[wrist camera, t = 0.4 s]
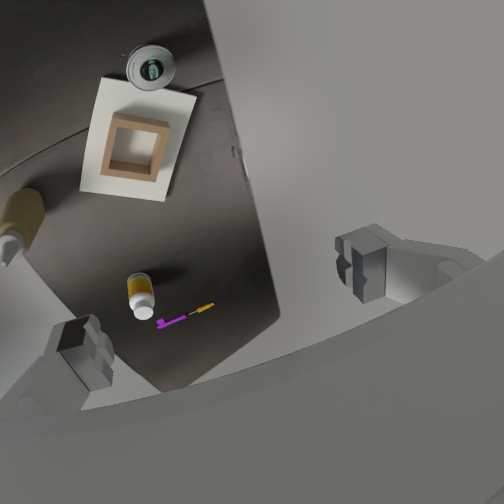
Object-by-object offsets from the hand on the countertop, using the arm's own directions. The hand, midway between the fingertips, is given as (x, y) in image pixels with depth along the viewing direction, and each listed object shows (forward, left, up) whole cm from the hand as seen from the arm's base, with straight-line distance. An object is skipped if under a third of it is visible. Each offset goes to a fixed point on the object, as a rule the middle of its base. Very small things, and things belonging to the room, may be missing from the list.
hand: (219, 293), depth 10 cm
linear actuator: (+51, +21, -48) cm, 73 cm away
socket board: (+10, +1, -47) cm, 48 cm away
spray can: (-4, -1, -47) cm, 47 cm away
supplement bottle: (+41, +8, -47) cm, 63 cm away
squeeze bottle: (+24, -17, -47) cm, 56 cm away
